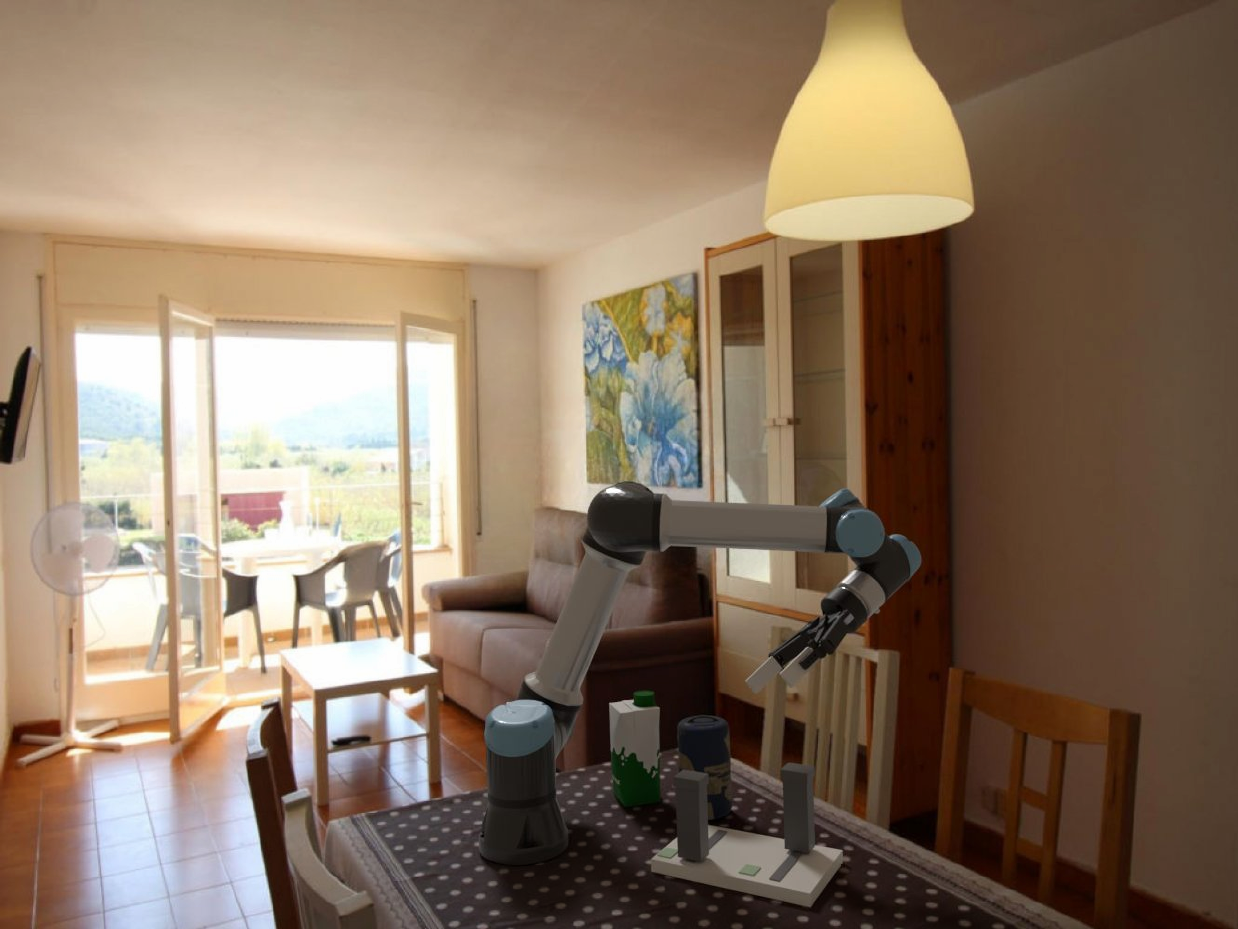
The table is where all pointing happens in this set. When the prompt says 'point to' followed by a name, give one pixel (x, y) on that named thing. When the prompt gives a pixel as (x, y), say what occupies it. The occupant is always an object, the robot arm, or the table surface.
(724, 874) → the switch board
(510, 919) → the table surface
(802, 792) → the switch
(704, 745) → the canister
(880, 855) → the table surface
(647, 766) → the milk carton
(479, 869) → the table surface
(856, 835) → the table surface
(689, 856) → the switch
